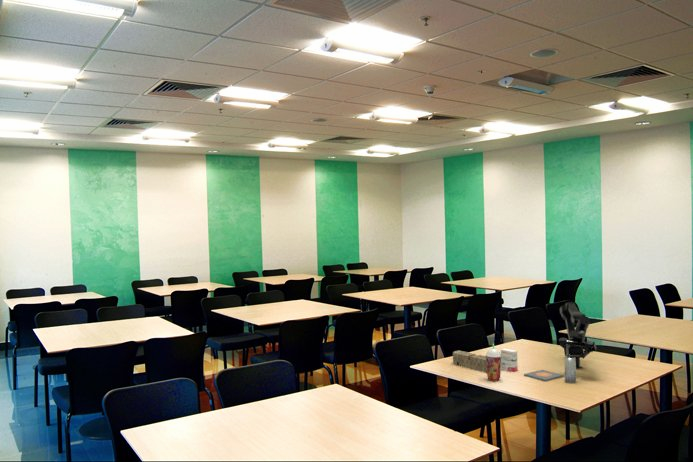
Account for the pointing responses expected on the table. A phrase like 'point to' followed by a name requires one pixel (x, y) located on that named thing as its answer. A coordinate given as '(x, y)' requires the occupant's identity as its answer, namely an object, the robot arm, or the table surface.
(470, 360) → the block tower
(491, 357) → the smoothie
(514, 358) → the ink box
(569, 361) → the steel sleeve
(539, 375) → the rubber mat
